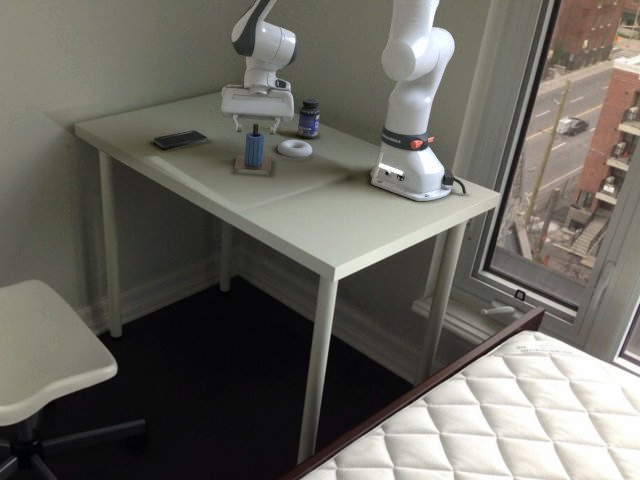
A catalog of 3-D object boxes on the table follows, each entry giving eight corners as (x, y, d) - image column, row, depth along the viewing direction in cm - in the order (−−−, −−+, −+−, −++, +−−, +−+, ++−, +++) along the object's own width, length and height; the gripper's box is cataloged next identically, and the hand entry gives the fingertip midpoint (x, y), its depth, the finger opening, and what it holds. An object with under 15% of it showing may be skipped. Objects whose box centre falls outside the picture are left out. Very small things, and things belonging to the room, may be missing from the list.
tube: (265, 163, 200) (267, 136, 195) (252, 167, 197) (253, 139, 193) (254, 158, 203) (256, 130, 198) (241, 161, 200) (242, 133, 196)
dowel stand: (271, 162, 205) (274, 119, 198) (270, 176, 196) (274, 132, 190) (236, 159, 205) (238, 116, 198) (233, 173, 197) (236, 129, 190)
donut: (274, 160, 206) (309, 163, 205) (275, 148, 205) (310, 152, 203) (280, 147, 215) (313, 151, 213) (280, 136, 213) (314, 139, 211)
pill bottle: (317, 139, 221) (321, 104, 215) (297, 138, 221) (301, 103, 215) (316, 132, 226) (320, 97, 220) (297, 131, 226) (300, 96, 220)
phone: (151, 138, 212) (194, 129, 220) (151, 142, 213) (194, 133, 220) (165, 147, 207) (209, 138, 214) (165, 151, 207) (208, 141, 215)
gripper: (221, 78, 199) (217, 125, 196) (296, 83, 198) (292, 130, 195) (222, 89, 205) (218, 135, 202) (294, 94, 204) (291, 140, 202)
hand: (255, 132), depth 199 cm, fingers open, 8 cm apart
